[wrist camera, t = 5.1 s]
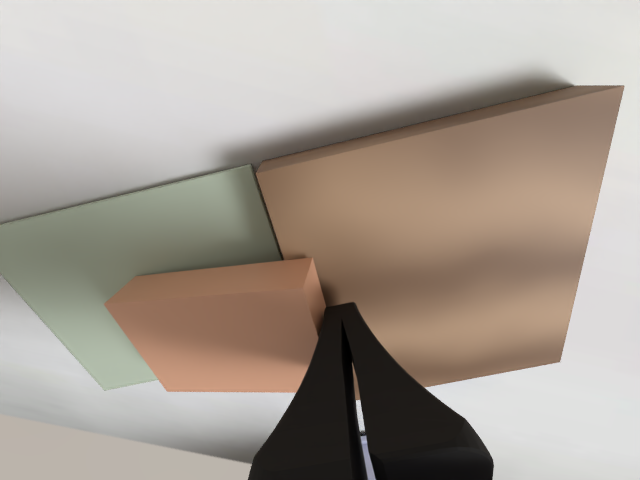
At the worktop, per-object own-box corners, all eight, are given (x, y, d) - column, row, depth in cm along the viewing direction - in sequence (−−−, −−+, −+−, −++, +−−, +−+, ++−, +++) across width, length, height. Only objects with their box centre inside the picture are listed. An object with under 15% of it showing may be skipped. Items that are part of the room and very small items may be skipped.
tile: (339, 355, 15) (335, 392, 13) (187, 359, 17) (167, 391, 15) (312, 257, 12) (303, 287, 11) (135, 276, 14) (103, 304, 13)
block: (534, 335, 18) (560, 362, 16) (329, 375, 19) (332, 404, 17) (576, 85, 12) (624, 85, 10) (262, 161, 13) (255, 173, 11)
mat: (311, 344, 18) (311, 349, 17) (108, 384, 18) (104, 390, 18) (250, 163, 13) (249, 166, 12) (-26, 230, 13) (-35, 234, 13)
